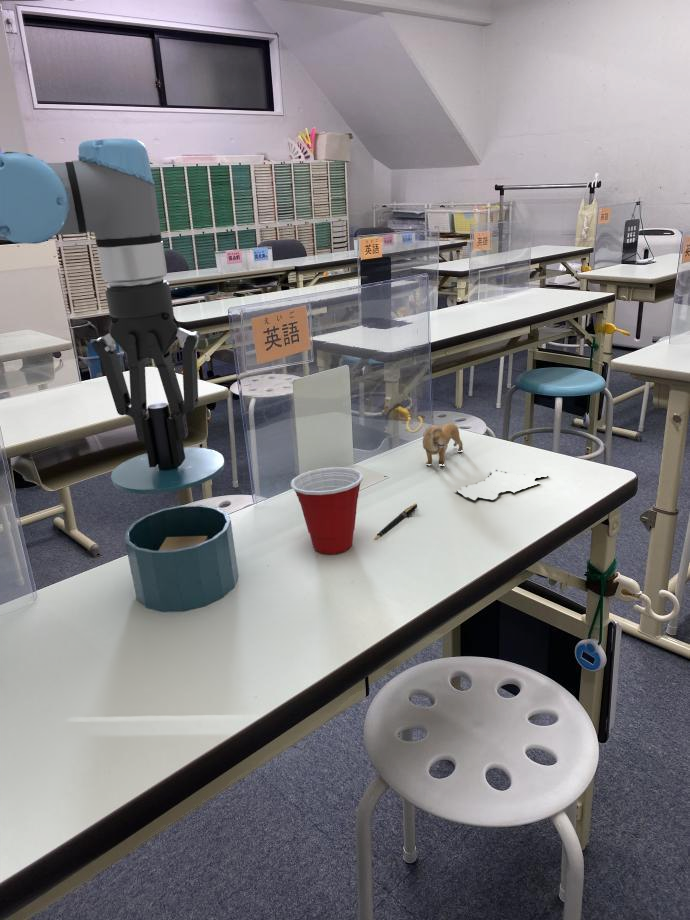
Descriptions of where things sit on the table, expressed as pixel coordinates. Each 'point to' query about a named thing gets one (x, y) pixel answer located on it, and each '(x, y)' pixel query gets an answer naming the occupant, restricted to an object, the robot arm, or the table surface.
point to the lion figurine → (440, 440)
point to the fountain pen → (397, 520)
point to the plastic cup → (329, 506)
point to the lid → (166, 463)
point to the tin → (182, 558)
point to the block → (181, 542)
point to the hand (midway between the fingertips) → (167, 462)
